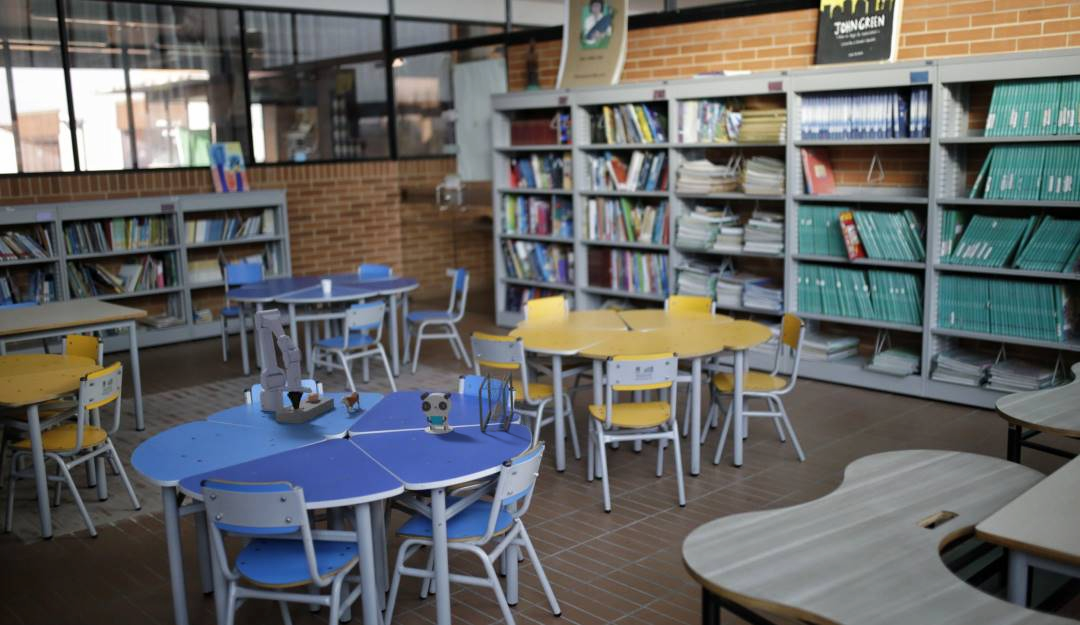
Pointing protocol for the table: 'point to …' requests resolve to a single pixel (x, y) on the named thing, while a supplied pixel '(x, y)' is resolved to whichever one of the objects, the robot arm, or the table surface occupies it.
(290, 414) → the block
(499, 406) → the newton's cradle
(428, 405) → the panda figurine
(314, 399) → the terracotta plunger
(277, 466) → the table surface
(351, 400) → the bull figurine
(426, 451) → the table surface
